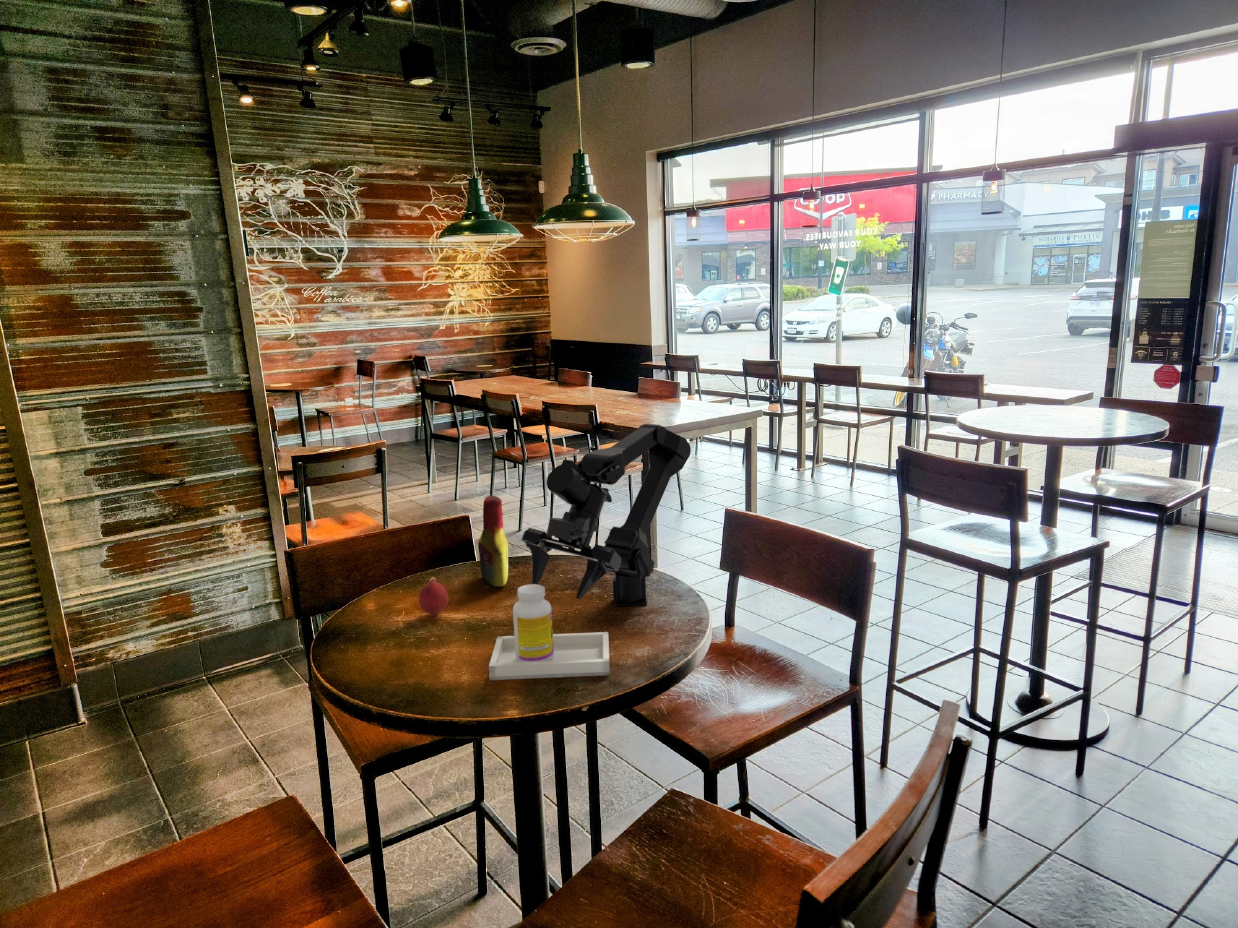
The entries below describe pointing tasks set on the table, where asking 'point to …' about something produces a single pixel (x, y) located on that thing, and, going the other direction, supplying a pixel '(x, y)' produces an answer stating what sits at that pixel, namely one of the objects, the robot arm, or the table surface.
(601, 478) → the robot arm
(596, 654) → the tray
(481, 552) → the bottle
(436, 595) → the onion
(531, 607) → the supplement bottle
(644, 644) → the table surface
